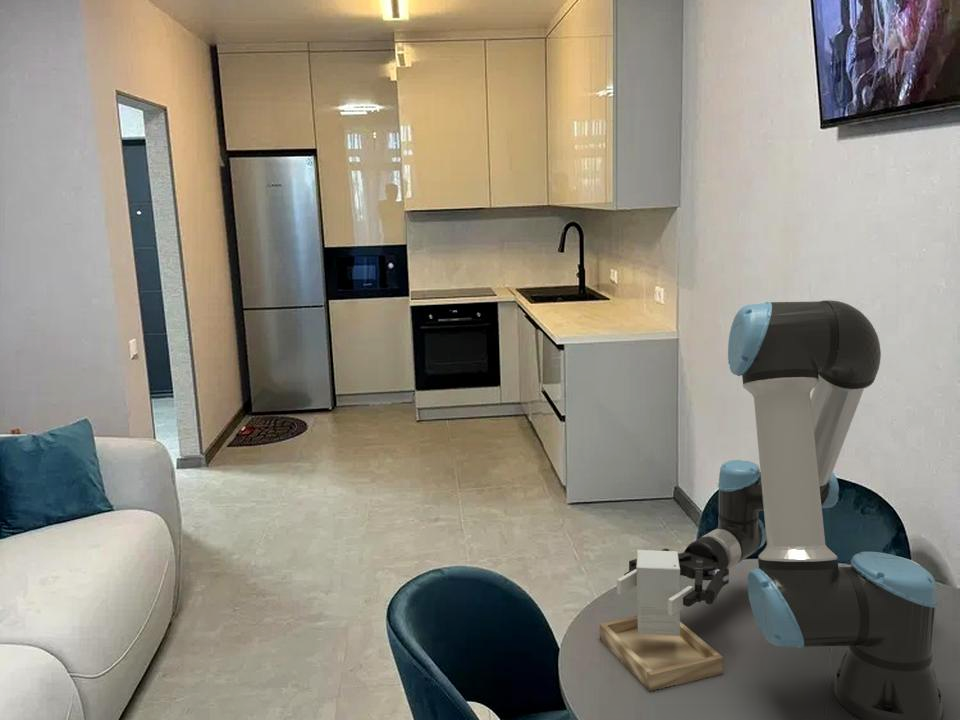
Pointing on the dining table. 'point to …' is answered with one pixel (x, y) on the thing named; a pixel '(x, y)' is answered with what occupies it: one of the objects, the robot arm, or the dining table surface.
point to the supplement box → (657, 592)
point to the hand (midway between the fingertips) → (643, 597)
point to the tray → (661, 654)
